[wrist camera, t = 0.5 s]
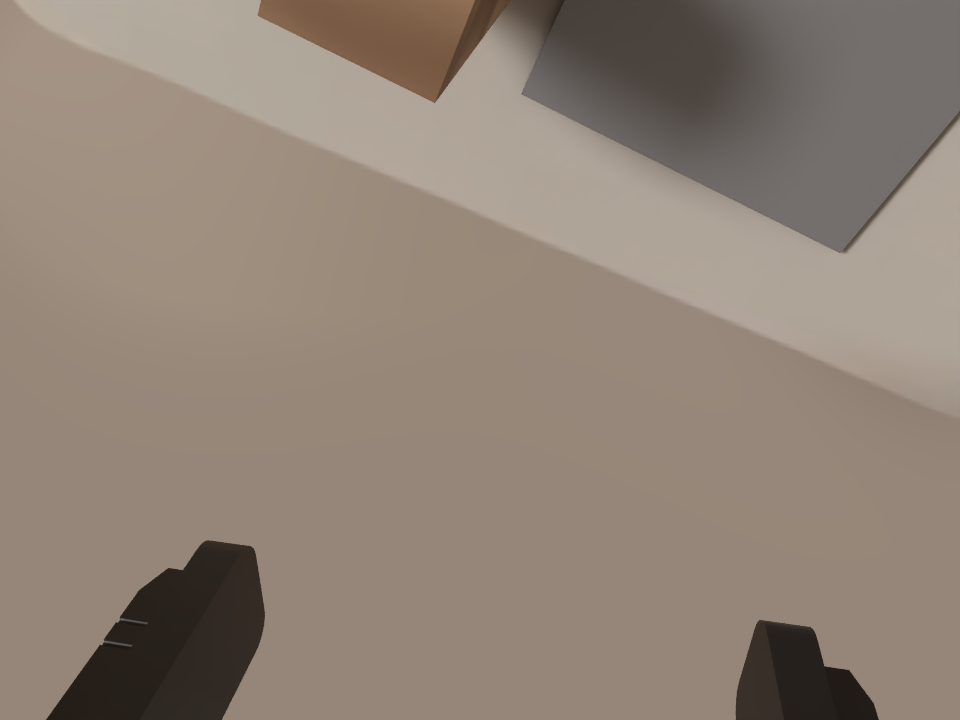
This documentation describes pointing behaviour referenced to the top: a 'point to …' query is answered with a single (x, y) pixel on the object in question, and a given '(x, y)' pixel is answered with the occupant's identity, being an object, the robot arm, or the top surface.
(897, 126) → the mat
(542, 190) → the top surface
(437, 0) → the block
